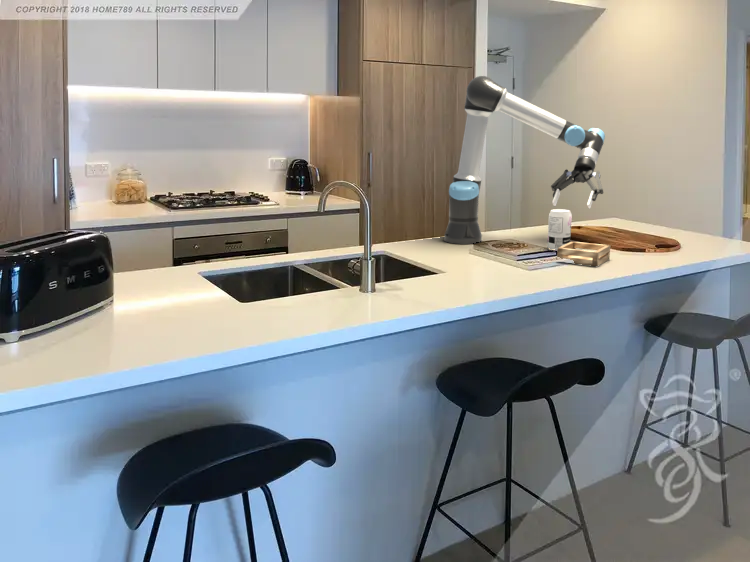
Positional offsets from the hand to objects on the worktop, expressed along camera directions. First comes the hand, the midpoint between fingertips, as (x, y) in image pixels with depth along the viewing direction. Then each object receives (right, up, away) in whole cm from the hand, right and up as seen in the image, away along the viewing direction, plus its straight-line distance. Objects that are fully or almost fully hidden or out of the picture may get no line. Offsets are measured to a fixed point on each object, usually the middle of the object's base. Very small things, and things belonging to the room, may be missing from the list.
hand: (571, 205), depth 267 cm
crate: (-2, -22, -22) cm, 31 cm away
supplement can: (-6, -17, -3) cm, 19 cm away
